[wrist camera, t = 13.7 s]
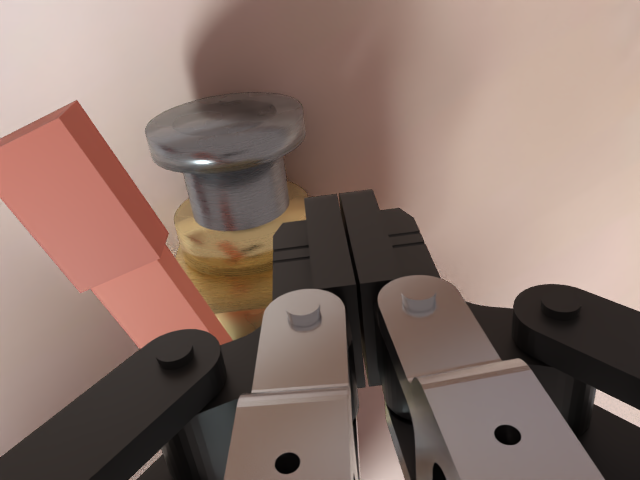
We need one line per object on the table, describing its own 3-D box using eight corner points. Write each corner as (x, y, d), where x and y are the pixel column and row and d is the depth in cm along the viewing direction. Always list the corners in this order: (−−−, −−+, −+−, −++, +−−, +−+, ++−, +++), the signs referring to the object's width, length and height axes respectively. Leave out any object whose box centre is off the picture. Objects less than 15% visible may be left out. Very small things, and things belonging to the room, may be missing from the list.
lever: (319, 426, 22) (321, 462, 20) (234, 457, 22) (230, 493, 21) (94, 90, 15) (75, 110, 14) (-20, 147, 16) (-49, 171, 14)
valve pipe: (336, 391, 34) (351, 541, 26) (234, 402, 34) (218, 555, 26) (300, 86, 25) (308, 174, 17) (161, 101, 25) (102, 197, 17)
